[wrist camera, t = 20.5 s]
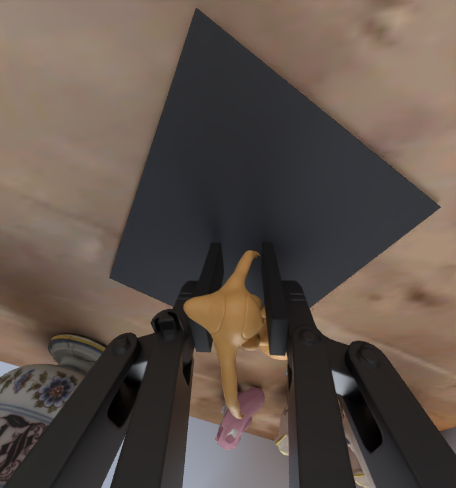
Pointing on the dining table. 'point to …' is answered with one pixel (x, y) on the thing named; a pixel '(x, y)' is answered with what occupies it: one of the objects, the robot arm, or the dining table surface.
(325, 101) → the dining table surface
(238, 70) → the mat
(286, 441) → the chinaware
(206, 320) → the figurine
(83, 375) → the apothecary jar
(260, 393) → the video game controller
